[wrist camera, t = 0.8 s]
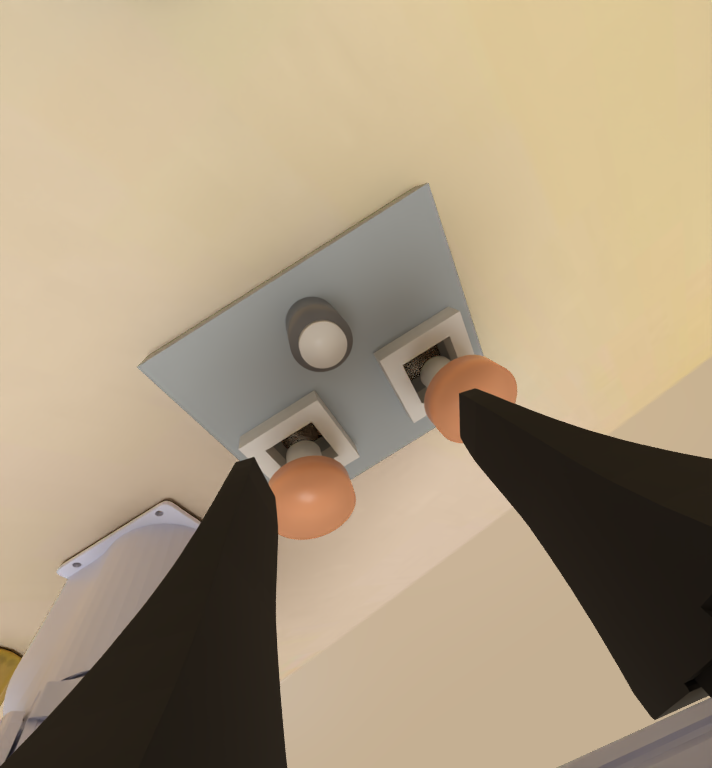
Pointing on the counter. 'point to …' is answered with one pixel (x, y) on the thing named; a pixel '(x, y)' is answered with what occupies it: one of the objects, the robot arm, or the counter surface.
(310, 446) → the knob
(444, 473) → the counter surface
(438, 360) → the knob
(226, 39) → the counter surface
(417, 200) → the mount board
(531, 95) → the counter surface
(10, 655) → the vase
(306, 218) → the counter surface
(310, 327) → the white domed button
